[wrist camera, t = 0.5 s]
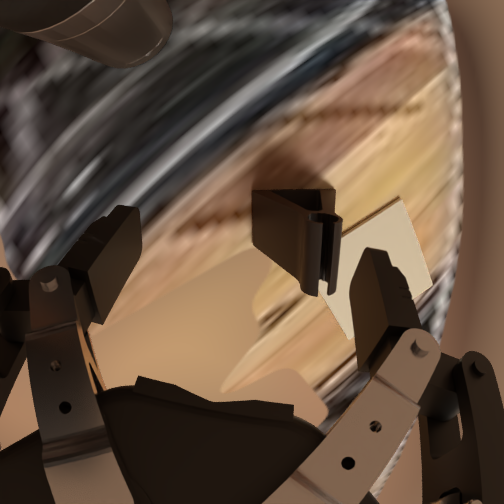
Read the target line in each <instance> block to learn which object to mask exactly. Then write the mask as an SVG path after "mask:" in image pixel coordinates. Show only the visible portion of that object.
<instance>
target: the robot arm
mask: <svg viewBox="0 0 504 504" xmlns="http://www.w3.org/2000/svg"><path fill="white" fill-rule="evenodd" d="M172 25H173V18H172V12H171V10H170V8H169V6H168V3H167V1H166V0H0V27H2V28H5V29H9V30H12V31H15V32H18V33H21V34H24V35H27V36H30V37H33V38H36V39H40V40H43V41H45V42H48V43H51V44H54V45H56V46H59V47H62V48H64V49H67V50H70V51H72V52H75V53H77V54H80V55H82V56H85V57H87V58H90V59H92V60H94V61H97V62H99V63H102V64H104V65H106V66H109V67H113V68H130V67H135V66H137V65H140V64H143V63H145V62H146V61H148V60H150V59H151V58H153V57H154V56H155V55H156V54H157V53H159V51H160V50H161V49H162V48H163V47H164V46H165V44H166V42H167V40H168V39H169V37H170V34H171V31H172ZM141 251H142V234H141V222H140V211H139V209H138V208H137V207H131V206H124V205H117V206H116V207H115V208H114V209H113V210H112V212H111V213H110V214H109V215H108V216H107V217H105V216H103V217H101V218H100V219H98V220H96V221H95V222H93V223H92V224H91V225H90V226H89V227H88V228H87V230H86V231H85V232H84V234H82V235H81V237H80V238H79V239H78V241H77V242H76V243H75V244H74V245H73V246H72V248H71V249H70V250H69V251H68V253H67V254H66V255H65V256H64V258H63V259H62V260H61V261H60V263H59V264H58V265H57V266H56V265H53V266H47V267H44V268H42V269H40V270H39V271H37V272H36V273H35V274H34V275H33V276H32V278H31V279H30V280H12V278H11V275H10V273H9V271H8V270H7V269H6V268H3V267H0V416H1V413H2V411H3V409H4V406H5V404H6V401H7V399H8V396H9V394H10V392H11V390H12V388H13V385H14V383H15V381H16V379H17V376H18V374H19V372H20V370H21V368H22V366H23V364H24V362H25V360H26V358H27V362H28V370H29V377H30V384H31V390H32V396H33V402H34V407H35V412H36V417H37V422H38V426H39V429H38V430H36V431H35V432H33V433H31V434H29V435H28V436H26V437H24V438H22V439H21V440H19V441H17V442H16V443H14V444H12V445H10V446H9V447H7V448H5V449H3V450H1V444H0V450H1V451H0V504H379V503H378V501H377V500H376V499H375V498H374V496H373V495H372V494H371V493H370V491H369V490H370V488H371V487H372V486H373V484H374V483H375V481H376V480H377V478H378V477H379V476H380V474H381V473H382V471H383V470H384V468H385V467H386V465H387V464H388V462H389V461H390V459H391V458H392V456H393V455H394V453H395V452H396V450H397V448H398V447H399V445H400V444H401V442H402V440H403V439H404V437H405V435H406V434H407V432H408V430H409V428H410V427H411V425H412V423H413V421H414V420H415V418H416V416H417V414H418V419H419V430H420V442H421V460H422V498H423V501H422V504H504V409H503V404H502V400H501V396H500V392H499V388H498V384H497V381H496V377H495V374H494V370H493V367H492V365H491V363H490V362H489V360H488V359H487V358H486V357H485V356H484V355H482V354H481V353H479V352H475V351H469V352H467V353H466V354H465V355H464V356H463V357H462V358H461V359H460V360H459V359H457V358H454V357H452V356H449V355H447V354H444V353H442V352H441V350H440V347H439V344H438V343H437V341H436V340H435V338H434V337H433V336H432V335H430V334H429V333H428V332H426V331H424V330H422V327H421V323H420V320H419V317H418V313H417V310H416V307H415V304H414V301H413V300H412V295H411V292H410V291H409V286H408V283H407V280H406V277H405V276H404V275H403V273H402V272H401V271H400V270H399V268H398V267H395V266H392V264H391V261H390V258H389V255H388V252H387V251H386V250H380V249H375V248H370V247H366V248H365V249H364V251H363V253H362V255H361V258H360V260H359V263H358V265H357V268H356V270H355V272H354V275H353V277H352V280H351V283H350V288H349V300H350V307H351V314H352V321H353V329H354V337H355V346H356V355H357V364H358V371H359V372H370V380H369V381H368V382H367V384H366V385H365V386H364V388H363V389H362V390H361V392H360V393H359V394H358V395H357V397H356V398H355V399H354V401H353V402H352V403H351V404H350V406H349V407H348V408H347V409H346V411H345V412H344V413H343V414H342V415H341V417H340V418H339V419H338V420H337V421H336V423H335V424H334V425H333V426H332V427H331V428H330V429H329V431H328V432H327V433H326V434H324V433H323V432H322V431H320V430H319V429H318V428H316V427H315V426H314V425H312V424H311V423H309V422H307V421H305V420H303V419H301V418H299V417H297V416H294V415H293V413H294V412H293V411H294V405H291V404H282V403H274V402H266V401H259V400H247V401H232V402H211V401H208V400H206V399H204V398H202V397H199V396H197V395H195V394H193V393H191V392H189V391H187V390H185V389H182V388H180V387H178V386H176V385H174V384H170V383H165V382H161V381H157V380H153V379H149V378H146V377H142V376H138V378H137V380H136V383H135V386H134V385H133V386H132V385H131V386H120V387H115V388H111V389H108V390H107V389H106V386H105V384H104V381H103V379H102V376H101V373H100V369H99V366H98V363H97V359H96V356H95V352H94V349H93V345H92V341H91V338H90V334H89V331H88V327H89V326H90V324H91V322H94V323H98V324H101V325H103V324H104V322H105V320H106V318H107V316H108V314H109V312H110V311H111V309H112V307H113V305H114V303H115V301H116V299H117V298H118V296H119V294H120V292H121V290H122V288H123V287H124V285H125V283H126V281H127V279H128V278H129V276H130V274H131V272H132V271H133V269H134V267H135V265H136V264H137V262H138V260H139V258H140V255H141ZM458 413H460V416H461V422H462V428H463V437H462V440H461V438H460V431H459V424H458V417H457V414H458Z"/></svg>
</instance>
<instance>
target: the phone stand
mask: <svg viewBox="0 0 504 504" xmlns="http://www.w3.org/2000/svg"><path fill="white" fill-rule="evenodd" d="M335 196H336V190H335V189H296V190H293V189H282V190H253V191H252V206H253V245H254V246H255V247H256V248H258V249H259V250H260V251H261V252H263V253H264V254H265V255H267V256H268V257H269V258H270V259H272V260H273V261H274V262H276V263H277V264H278V265H279V266H281V267H282V268H283V269H285V270H286V271H287V272H288V273H290V274H291V275H292V276H294V277H295V278H296V279H297V280H298V281H299V283H300V288H301V290H302V291H303V292H304V293H306V294H308V295H311V296H315V297H318V286H319V280H320V279H321V280H322V281H325V282H327V283H328V286H327V295H328V296H330V295H332V294H334V293H335V292H336V288H337V279H338V269H339V259H340V248H341V236H342V222H343V219H342V218H341V217H340V216H338V215H337V214H336V213H335Z"/></svg>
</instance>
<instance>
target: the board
mask: <svg viewBox="0 0 504 504" xmlns="http://www.w3.org/2000/svg"><path fill="white" fill-rule="evenodd" d="M366 247H370V248H375V249H380V250H386V251H387V252H388V255H389V258H390V261H391V264H392V266H395V267H398V268H399V270H400V271H401V272H402V273H403V275H404V276H405V277H406V280H407V283H408V286H409V291H410V292H411V295H412V299H414V298H415V297H417V296H418V295H420V294H421V293H422V292H424V291H425V290H427V289H428V288H430V287H431V286H432V285H433V284H432V281H431V278H430V274H429V271H428V268H427V265H426V262H425V259H424V256H423V253H422V250H421V247H420V245H419V242H418V239H417V236H416V234H415V231H414V228H413V226H412V223H411V220H410V218H409V215H408V213H407V210H406V208H405V205H404V203H403V200H402V199H401V198H399V199H397V200H396V201H394V202H393V203H391V204H390V205H388V206H386V207H385V208H383V209H382V210H380V211H379V212H377V213H376V214H374V215H373V216H371V217H369V218H368V219H366V220H365V221H363V222H362V223H360V224H358V225H357V226H355V227H354V228H352V229H351V230H349V231H347V232H346V233H344V234H343V235H342V236H341V248H340V259H339V269H338V279H337V288H336V292H335V293H334V294H332V295H330V296H328V295H327V286H328V283H327V282H325V281H322V280H321V279H320V280H319V286H318V290H319V292H320V293H321V295H322V297H323V298H324V300H325V301H326V303H327V305H328V306H329V308H330V310H331V311H332V313H333V314H334V316H335V318H336V319H337V321H338V323H339V324H340V326H341V328H342V329H343V331H344V333H345V334H346V336H347V338H348V339H349V340H350V339H352V338H353V337H354V329H353V321H352V314H351V307H350V300H349V288H350V283H351V280H352V277H353V275H354V272H355V270H356V268H357V265H358V263H359V260H360V258H361V255H362V253H363V251H364V249H365V248H366Z"/></svg>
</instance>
